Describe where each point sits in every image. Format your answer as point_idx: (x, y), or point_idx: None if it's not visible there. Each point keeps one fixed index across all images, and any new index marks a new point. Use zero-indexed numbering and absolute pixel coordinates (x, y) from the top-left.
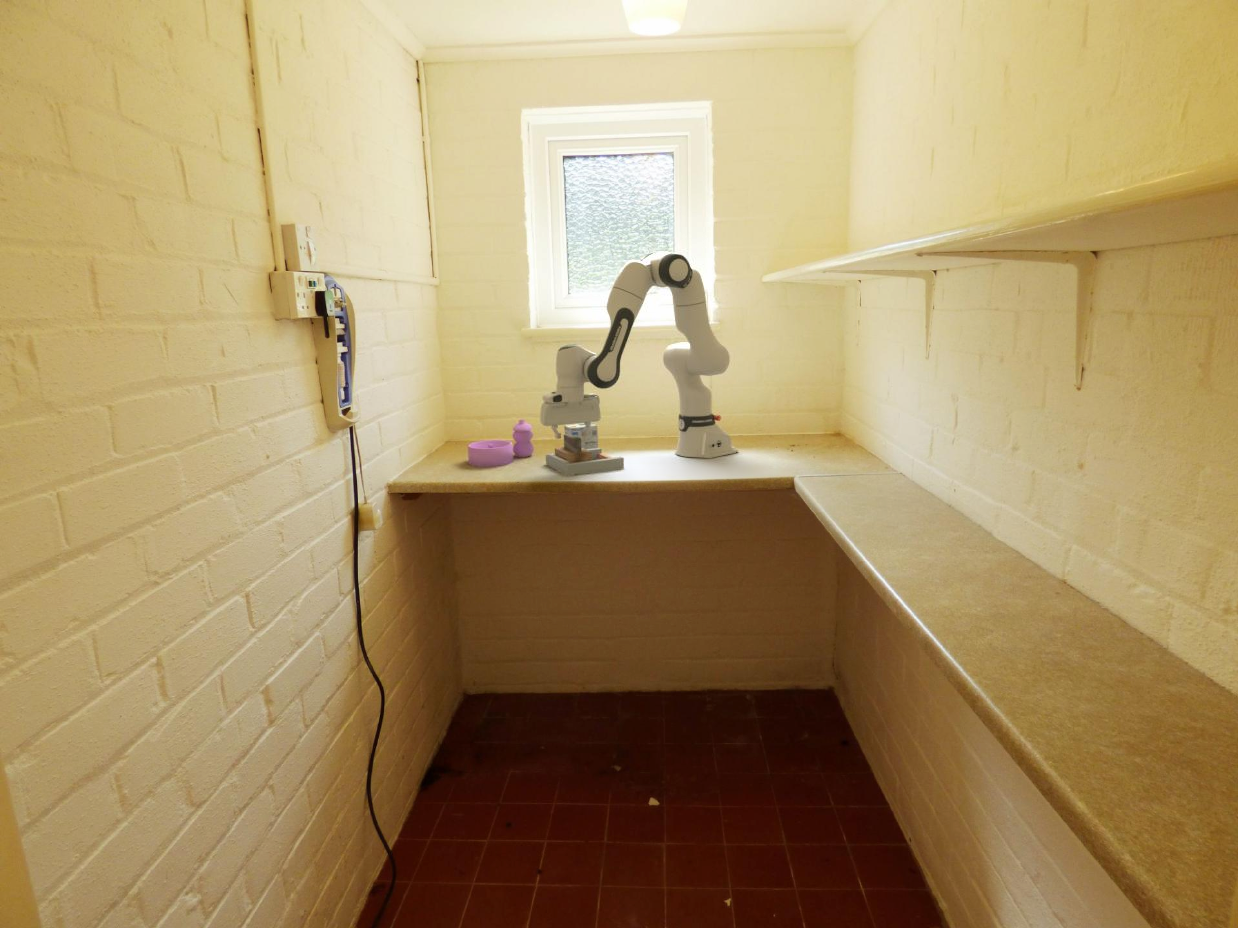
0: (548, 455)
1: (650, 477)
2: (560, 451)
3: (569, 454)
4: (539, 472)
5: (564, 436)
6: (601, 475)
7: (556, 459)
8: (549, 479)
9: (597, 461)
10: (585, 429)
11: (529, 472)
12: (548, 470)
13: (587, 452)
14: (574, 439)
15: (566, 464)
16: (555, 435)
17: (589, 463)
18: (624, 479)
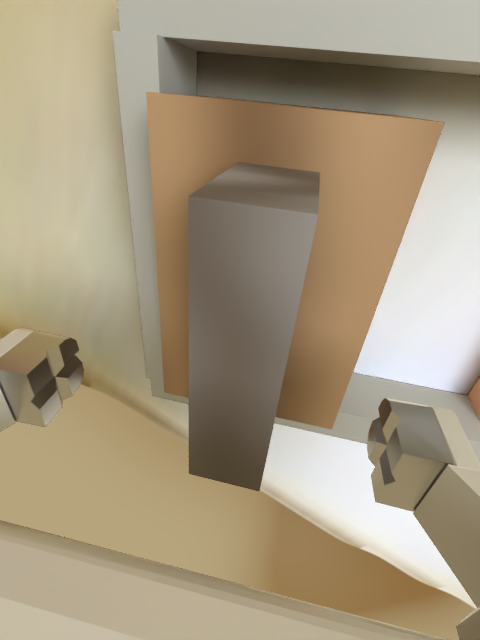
0: (120, 57)
1: (412, 540)
2: (159, 256)
3: (170, 393)
4: (68, 212)
5: (195, 227)
6: (297, 434)
7: (138, 257)
8: (89, 352)
9: (325, 434)
10: (438, 516)
11: (15, 173)
12: (124, 201)
13: (302, 420)
14: (193, 469)
15: (154, 383)
16: (2, 355)
17: (277, 418)
18: (324, 505)
